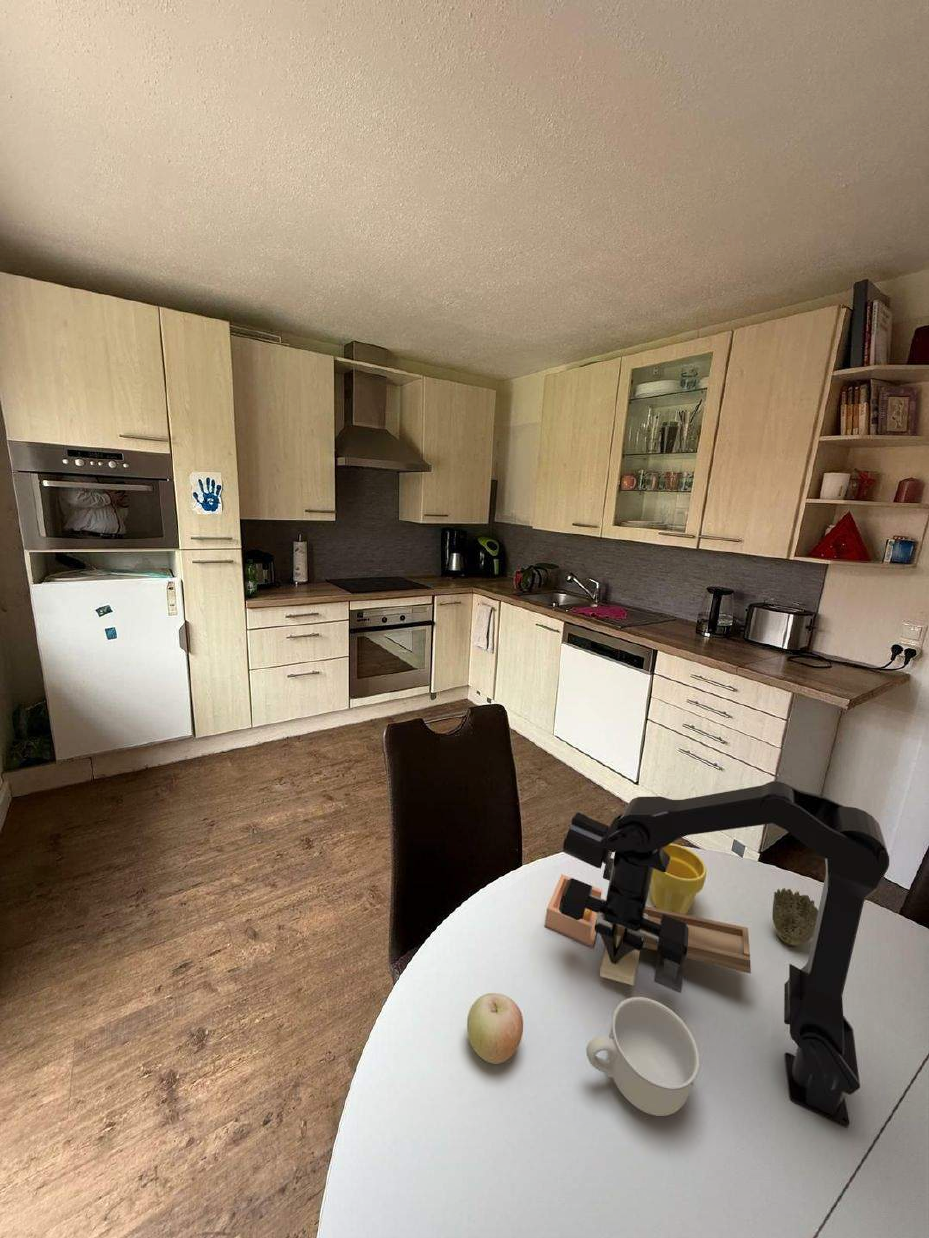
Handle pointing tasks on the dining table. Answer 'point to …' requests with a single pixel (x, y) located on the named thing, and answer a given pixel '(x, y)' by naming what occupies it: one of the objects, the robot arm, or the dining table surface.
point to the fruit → (495, 1027)
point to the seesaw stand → (669, 972)
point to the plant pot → (678, 880)
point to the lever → (704, 945)
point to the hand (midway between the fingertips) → (613, 961)
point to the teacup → (648, 1056)
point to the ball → (587, 914)
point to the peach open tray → (568, 925)
